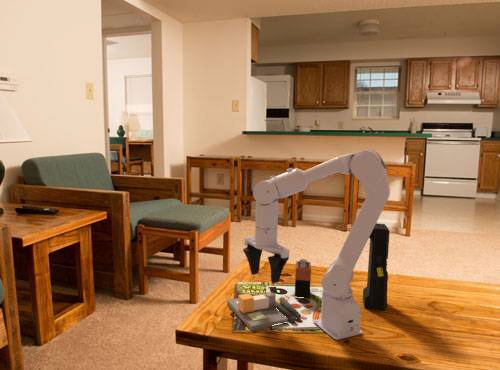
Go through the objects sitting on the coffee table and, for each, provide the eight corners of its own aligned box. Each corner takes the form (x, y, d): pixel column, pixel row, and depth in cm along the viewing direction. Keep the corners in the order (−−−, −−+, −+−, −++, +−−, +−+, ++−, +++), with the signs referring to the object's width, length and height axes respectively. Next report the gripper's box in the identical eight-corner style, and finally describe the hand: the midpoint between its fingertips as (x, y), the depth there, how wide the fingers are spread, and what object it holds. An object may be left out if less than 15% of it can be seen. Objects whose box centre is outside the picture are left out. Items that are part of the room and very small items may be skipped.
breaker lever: (277, 306, 104) (277, 293, 104) (242, 313, 100) (243, 299, 100) (272, 302, 107) (272, 289, 106) (238, 308, 103) (238, 295, 102)
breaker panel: (291, 322, 99) (291, 317, 99) (251, 330, 94) (251, 325, 94) (262, 298, 113) (262, 293, 113) (227, 304, 109) (227, 298, 108)
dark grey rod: (297, 323, 99) (297, 317, 98) (292, 324, 98) (292, 318, 98) (268, 298, 113) (268, 293, 112) (263, 299, 112) (263, 294, 112)
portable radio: (388, 312, 106) (394, 221, 102) (364, 310, 107) (370, 220, 104) (384, 300, 113) (390, 215, 110) (362, 298, 114) (367, 214, 111)
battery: (309, 290, 119) (310, 258, 118) (309, 299, 113) (311, 266, 111) (294, 289, 120) (296, 257, 119) (294, 298, 113) (295, 265, 112)
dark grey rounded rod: (301, 320, 100) (302, 314, 100) (296, 321, 100) (296, 315, 100) (283, 301, 111) (283, 296, 111) (278, 302, 111) (278, 296, 110)
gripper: (298, 230, 98) (296, 282, 100) (258, 219, 109) (257, 267, 111) (278, 234, 94) (276, 289, 95) (238, 223, 104) (237, 272, 106)
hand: (264, 277), depth 103 cm, fingers open, 7 cm apart
